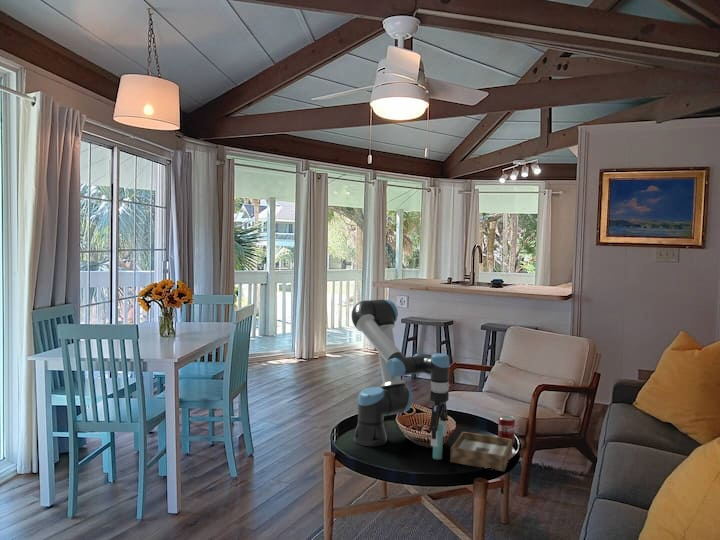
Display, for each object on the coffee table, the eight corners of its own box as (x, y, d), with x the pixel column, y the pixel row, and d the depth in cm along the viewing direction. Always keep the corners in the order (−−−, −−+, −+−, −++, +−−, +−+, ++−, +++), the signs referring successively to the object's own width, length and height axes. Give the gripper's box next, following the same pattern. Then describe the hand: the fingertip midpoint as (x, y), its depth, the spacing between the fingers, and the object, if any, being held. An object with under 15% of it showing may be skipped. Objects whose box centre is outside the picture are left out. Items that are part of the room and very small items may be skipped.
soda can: (514, 447, 250) (515, 421, 249) (498, 445, 251) (499, 419, 250) (513, 441, 257) (514, 416, 256) (497, 440, 258) (498, 414, 258)
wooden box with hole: (450, 461, 231) (450, 447, 231) (461, 444, 252) (462, 431, 251) (504, 471, 223) (504, 456, 223) (511, 452, 243) (512, 439, 243)
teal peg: (431, 458, 234) (432, 425, 234) (434, 455, 238) (435, 423, 237) (440, 460, 233) (441, 427, 232) (443, 456, 237) (444, 424, 236)
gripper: (440, 399, 221) (439, 452, 222) (455, 385, 244) (454, 433, 245) (422, 397, 224) (421, 449, 225) (438, 383, 247) (437, 430, 248)
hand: (438, 440), depth 235 cm, fingers open, 13 cm apart
